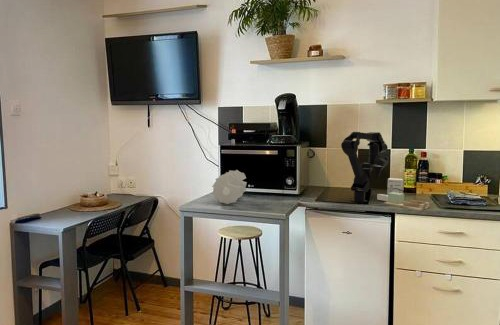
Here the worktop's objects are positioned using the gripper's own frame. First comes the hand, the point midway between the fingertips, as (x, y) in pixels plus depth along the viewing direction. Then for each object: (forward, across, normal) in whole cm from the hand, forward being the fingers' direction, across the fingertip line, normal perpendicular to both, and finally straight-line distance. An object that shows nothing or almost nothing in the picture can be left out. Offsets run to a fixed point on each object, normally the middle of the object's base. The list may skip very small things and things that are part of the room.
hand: (373, 178), depth 235 cm
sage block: (+11, -4, -13) cm, 18 cm away
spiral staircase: (+12, -68, +54) cm, 88 cm away
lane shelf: (+12, -4, -24) cm, 27 cm away
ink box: (+12, +11, -8) cm, 18 cm away
